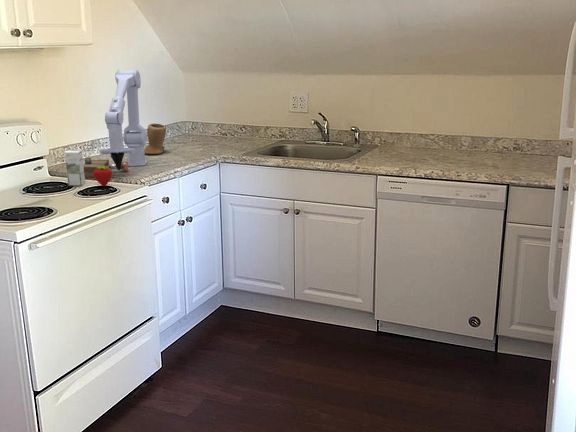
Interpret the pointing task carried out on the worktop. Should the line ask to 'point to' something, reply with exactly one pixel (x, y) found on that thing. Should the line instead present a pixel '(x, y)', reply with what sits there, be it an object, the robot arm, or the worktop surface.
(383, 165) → the worktop surface
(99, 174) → the strawberry
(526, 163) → the worktop surface
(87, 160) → the potentiometer
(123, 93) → the robot arm
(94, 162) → the mount
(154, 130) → the brown boot
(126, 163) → the inner knob
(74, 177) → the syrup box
